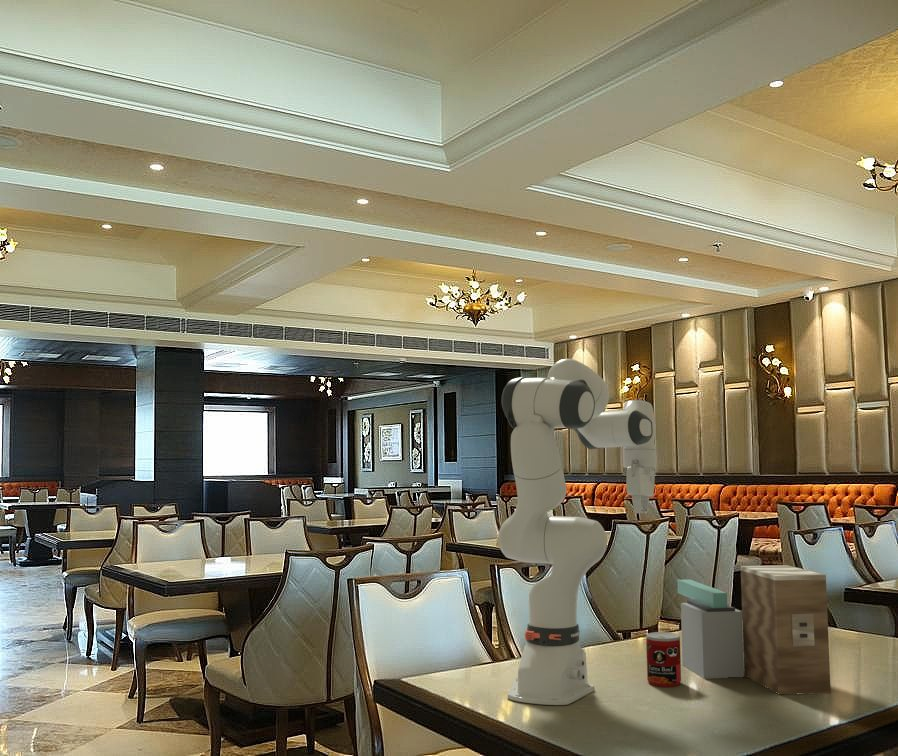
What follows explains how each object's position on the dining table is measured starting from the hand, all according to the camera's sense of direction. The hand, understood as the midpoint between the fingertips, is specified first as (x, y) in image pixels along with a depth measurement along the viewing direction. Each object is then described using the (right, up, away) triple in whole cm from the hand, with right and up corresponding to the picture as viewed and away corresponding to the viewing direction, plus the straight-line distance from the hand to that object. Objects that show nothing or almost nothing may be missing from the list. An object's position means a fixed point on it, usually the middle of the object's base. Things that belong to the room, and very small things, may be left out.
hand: (641, 513), depth 236 cm
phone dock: (+14, -36, -17) cm, 42 cm away
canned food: (-1, -36, -28) cm, 45 cm away
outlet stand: (+27, -35, -30) cm, 53 cm away
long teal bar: (+13, -21, -10) cm, 26 cm away
